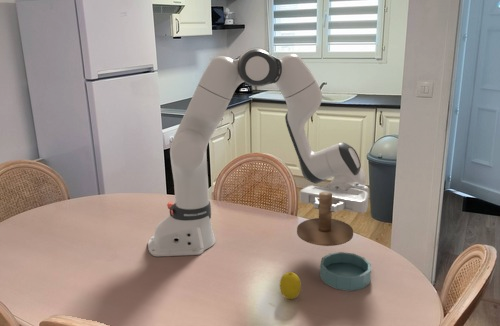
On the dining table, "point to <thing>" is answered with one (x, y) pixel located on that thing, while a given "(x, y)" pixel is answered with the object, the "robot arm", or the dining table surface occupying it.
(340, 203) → the robot arm
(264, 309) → the dining table surface
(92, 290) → the dining table surface
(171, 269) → the dining table surface
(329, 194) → the lid
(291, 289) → the lemon
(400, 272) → the dining table surface
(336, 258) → the bowl
